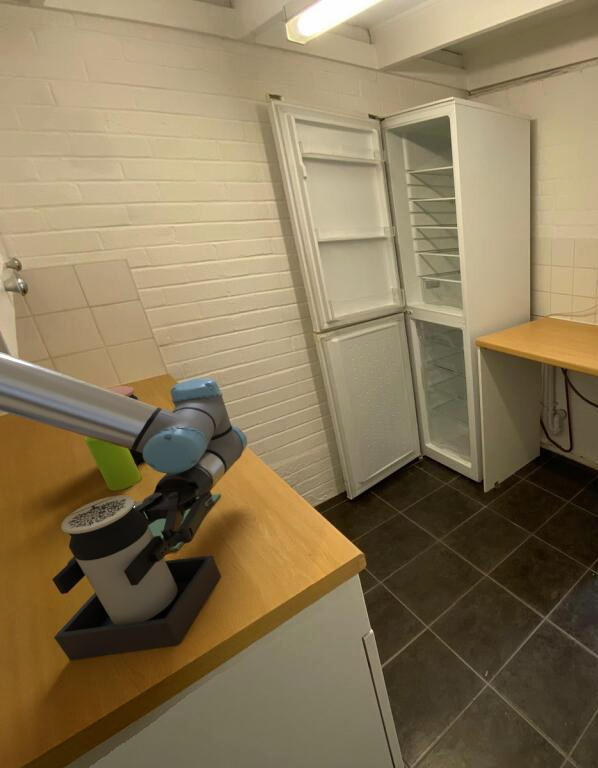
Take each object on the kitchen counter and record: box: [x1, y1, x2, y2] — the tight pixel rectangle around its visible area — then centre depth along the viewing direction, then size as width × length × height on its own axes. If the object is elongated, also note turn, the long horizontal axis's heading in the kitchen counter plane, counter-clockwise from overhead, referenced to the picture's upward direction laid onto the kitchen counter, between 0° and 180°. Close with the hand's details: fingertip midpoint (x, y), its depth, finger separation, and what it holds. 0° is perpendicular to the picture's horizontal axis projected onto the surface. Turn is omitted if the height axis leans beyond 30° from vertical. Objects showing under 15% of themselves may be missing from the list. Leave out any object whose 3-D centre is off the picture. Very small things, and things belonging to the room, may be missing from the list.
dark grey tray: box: [53, 554, 222, 661], centre depth 65 cm, size 14×12×5 cm
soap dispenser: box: [83, 436, 142, 491], centre depth 94 cm, size 6×7×20 cm
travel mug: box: [60, 494, 178, 625], centre depth 61 cm, size 8×8×18 cm
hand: (95, 582), depth 56 cm, fingers closed on travel mug, 8 cm apart
